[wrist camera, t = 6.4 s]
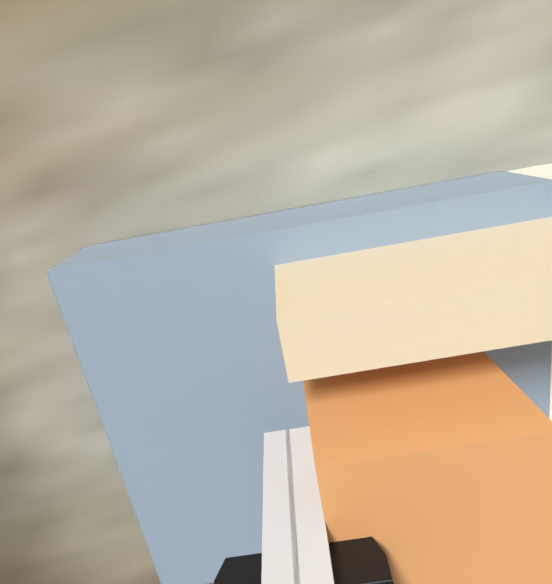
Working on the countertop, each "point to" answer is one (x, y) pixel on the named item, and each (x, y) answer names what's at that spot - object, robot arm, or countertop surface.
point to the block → (436, 470)
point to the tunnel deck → (292, 335)
